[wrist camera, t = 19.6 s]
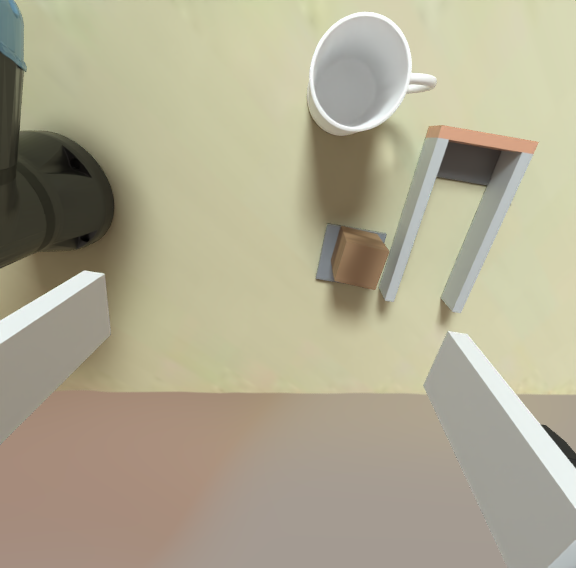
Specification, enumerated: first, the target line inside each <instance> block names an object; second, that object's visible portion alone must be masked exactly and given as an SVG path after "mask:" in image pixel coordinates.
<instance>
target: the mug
mask: <svg viewBox="0 0 576 568" xmlns="http://www.w3.org/2000/svg"><path fill="white" fill-rule="evenodd" d="M411 70H412V61H411V53H410V49H409V45H408V43H407V40H406V38H405V36H404V34H403V33H402V31H401V30H400V29H399V27H398V26H397V25H396V24H395V23H394V22H393V21H391V20H390V19H388V18H387V17H385V16H383V15H380V14H377V13H372V12H359V13H355V14H351V15H349V16H346V17H344V18H342V19H341V20H339V21H338V22H336V23H335V24H334V25H333V26H332V27H330V28H329V30H328V31H327V32H326V33H325V34H324V36H323V37H322V38H321V40H320V42H319V43H318V45H317V47H316V49H315V52H314V55H313V58H312V61H311V66H310V74H309V83H308V88H307V103H308V108H309V111H310V114H311V116H312V118H313V119H314V121H315V122H316V123H317V125H318V126H319V127H320V128H322V129H323V130H324V131H326V132H328V133H330V134H333V135H338V136H346V135H351V134H354V133H356V132H360V131H366V130H369V129H372V128H374V127H376V126H378V125H380V124H382V123H383V122H384V121H386V120H387V119H388V118H389V117H390V116H391V115H392V114H393V113H394V112H395V111H396V110H397V108H398V107H399V105H400V104H401V102H402V101H403V99H404V97H405V95H406V94H409V93H418V92H424V91H429V90H431V89H433V88H434V87H435V86H436V82H437V80H436V77H434V76H432V75H428V74H421V73H411Z"/></svg>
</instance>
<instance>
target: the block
mask: <svg viewBox="0 0 576 568" xmlns="http://www.w3.org/2000/svg"><path fill="white" fill-rule="evenodd" d="M388 254H389V250H388V248H387V247H386V246H385V244H384V243H383V241H382V240H381V239H380V237H379V236H378V234H375V233H370V232H366V231H362V230H357V229H353V228H349V227H344V226H341V227H340V230H339V234H338V237H337V241H336V244H335V247H334V251H333V254H332V258H331V264H332V270H333V276H334V281H337V282H341V283H346V284H350V285H355V286H359V287H364V288H368V289H373V290H375V289H376V286H377V283H378V281H379V278H380V275H381V273H382V270H383V267H384V265H385V262H386V259H387V257H388Z"/></svg>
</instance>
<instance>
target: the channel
mask: <svg viewBox="0 0 576 568" xmlns="http://www.w3.org/2000/svg"><path fill="white" fill-rule="evenodd" d="M538 143H539V142H536V141H530V140H524V139H518V138H513V137H507V136H501V135H495V134H490V133H484V132H478V131H472V130H467V129H461V128H455V127H449V126H444V125H439V126H429V128H428V131H427V135H426V138H425V141H424V144H423V147H422V151H421V154H420V157H419V160H418V163H417V167H416V170H415V173H414V176H413V179H412V183H411V186H410V189H409V192H408V195H407V199H406V202H405V205H404V208H403V211H402V215H401V218H400V221H399V224H398V227H397V231H396V234H395V237H394V240H393V243H392V247H391V250H390V253H389V256H388V259H387V263H386V266H385V269H384V272H383V275H382V279H381V282H380V285H379V289H380V291H381V293H382V296H383V298H384V300H386V301H392V302H394V299H395V296H396V293H397V290H398V287H399V284H400V282H401V279H402V276H403V273H404V270H405V267H406V264H407V261H408V258H409V255H410V252H411V249H412V247H413V244H414V241H415V238H416V235H417V232H418V229H419V226H420V223H421V220H422V217H423V214H424V211H425V209H426V206H427V203H428V200H429V197H430V194H431V191H432V188H433V185H434V182H435V179H436V177H441V178H447V179H453V180H459V181H464V182H470V183H476V184H482V185H487V187H486V190H485V192H484V194H483V197H482V199H481V202H480V204H479V207H478V209H477V211H476V214H475V216H474V219H473V221H472V223H471V226H470V228H469V231H468V233H467V236H466V238H465V240H464V243H463V245H462V248H461V250H460V252H459V255H458V257H457V260H456V262H455V265H454V267H453V269H452V272H451V274H450V277H449V279H448V281H447V284H446V286H445V289H444V291H443V294H442V296H441V299H442V300H443V301H444V302H445V304H446V305H447V306H448V307H449V309H450V310H451V311H452V312H457V313H461V311H462V309H463V307H464V305H465V303H466V301H467V298H468V296H469V294H470V292H471V290H472V287H473V285H474V283H475V281H476V279H477V276H478V274H479V272H480V270H481V268H482V265H483V263H484V261H485V259H486V257H487V254H488V252H489V250H490V248H491V246H492V244H493V241H494V239H495V237H496V235H497V233H498V230H499V228H500V226H501V224H502V222H503V219H504V217H505V215H506V213H507V211H508V208H509V206H510V204H511V202H512V200H513V197H514V195H515V193H516V191H517V189H518V187H519V184H520V182H521V180H522V178H523V176H524V173H525V171H526V169H527V167H528V165H529V162H530V160H531V158H532V156H533V154H534V151H535V149H536V147H537V145H538Z"/></svg>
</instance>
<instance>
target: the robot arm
mask: <svg viewBox="0 0 576 568" xmlns="http://www.w3.org/2000/svg"><path fill="white" fill-rule="evenodd" d="M26 70H27V67H26V64H25V63H24V22H23V18H22V15H21V12H20V10H19V8H18V6H17V4H16V3H15V1H14V0H0V268H2V267H4V266H7V265H9V264H11V263H13V262H16V261H18V260H20V259H22V258H25V257H27V256H29V255H31V254H34V253H36V252H49V251H71V250H76V249H80V248H83V247H85V246H87V245H89V244H91V243H93V242H95V241H97V240H98V239H100V238H101V237H102V236H103V235H104V234H105V233H106V231H107V230H108V228H109V226H110V224H111V222H112V218H113V212H114V202H113V195H112V191H111V188H110V185H109V182H108V180H107V178H106V176H105V174H104V172H103V171H102V169H101V167H100V166H99V165H98V163H97V162H96V161H95V159H94V158H93V157H92V156H91V155H90V154H89V153H88V152H87V151H86V150H85V149H83V148H82V147H81V146H80V145H78V144H77V143H75V142H74V141H72V140H70V139H68V138H66V137H64V136H62V135H59V134H56V133H53V132H48V131H20V117H21V104H22V90H23V77H24V71H25V72H26ZM110 335H111V328H110V319H109V309H108V299H107V290H106V280H105V274H103V273H97V272H91V271H85V270H84V271H83V272H81V273H79V274H78V275H76V276H74V277H72V278H71V279H69V280H67V281H66V282H64V283H62V284H61V285H59V286H57V287H56V288H54V289H52V290H51V291H49V292H47V293H46V294H44V295H42V296H41V297H39V298H37V299H36V300H34V301H32V302H31V303H29V304H27V305H25V306H24V307H22V308H20V309H19V310H17V311H15V312H14V313H12V314H10V315H9V316H7V317H5V318H4V319H2V320H0V445H1V444H2V443H3V442H4V441H5V440H6V439H7V438H8V437H9V436H10V435H11V434H12V433H13V432H14V431H15V430H16V429H17V428H18V427H19V425H21V424H22V423H23V422H24V421H25V420H26V419H27V418H28V417H29V416H30V415H31V414H32V413H33V412H34V411H35V409H37V408H38V407H39V406H40V405H41V404H42V403H43V402H44V401H45V400H46V399H47V398H48V397H49V396H50V395H51V394H52V393H53V392H54V391H55V390H56V389H57V388H58V387H59V386H60V385H61V384H62V383H63V382H64V381H65V380H66V379H67V378H68V377H69V376H70V375H71V374H72V373H73V372H74V371H75V370H76V369H77V368H78V367H79V366H80V365H81V364H82V363H83V362H84V361H85V360H86V359H87V358H88V357H89V356H90V355H91V354H92V353H93V352H94V351H95V350H96V349H97V348H98V347H99V346H100V345H101V344H102V343H103V342H104V341H105V340H106V339H107V338H108V337H109V336H110ZM423 386H424V388H425V391H426V393H427V395H428V397H429V399H430V401H431V404H432V406H433V408H434V410H435V412H436V414H437V416H438V419H439V421H440V423H441V425H442V427H443V429H444V432H445V434H446V436H447V438H448V440H449V442H450V445H451V447H452V449H453V451H454V453H455V455H456V458H457V459H458V462H459V464H460V466H461V468H462V471H463V473H464V475H465V477H466V479H467V481H468V483H469V486H470V488H471V490H472V492H473V494H474V497H475V498H476V501H477V503H478V505H479V507H480V510H481V512H482V514H483V516H484V518H485V520H486V523H487V525H488V527H489V529H490V531H491V533H492V535H493V538H494V540H495V542H496V544H497V546H498V548H499V551H500V553H501V555H502V557H503V559H504V562H505V564H506V566H507V568H576V453H575V452H574V451H573V450H572V449H571V448H570V446H569V445H568V444H567V443H566V442H565V441H564V440H563V439H562V438H560V437H559V436H558V435H557V434H556V433H555V432H553V431H552V430H551V429H550V428H548V427H547V426H546V425H541V424H539V422H538V421H537V420H536V419H535V417H534V416H533V415H532V414H531V413H530V411H529V410H528V409H527V407H526V406H525V405H524V404H523V403H522V401H521V400H520V399H519V398H518V396H517V395H516V394H515V393H514V391H513V390H512V389H511V388H510V386H509V385H508V384H507V383H506V381H505V380H504V379H503V378H502V376H501V375H500V374H499V373H498V371H497V370H496V369H495V368H494V367H493V365H492V364H491V363H490V362H489V360H488V359H487V358H486V357H485V355H484V354H483V353H482V352H481V350H480V349H479V348H478V347H477V345H476V344H475V343H474V342H473V341H472V339H471V338H470V337H469V336H468V334H463V333H457V332H451V331H448V332H447V334H446V336H445V338H444V340H443V343H442V345H441V347H440V349H439V352H438V354H437V356H436V358H435V360H434V363H433V365H432V367H431V369H430V372H429V374H428V376H427V378H426V380H425V383H424V385H423Z"/></svg>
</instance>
